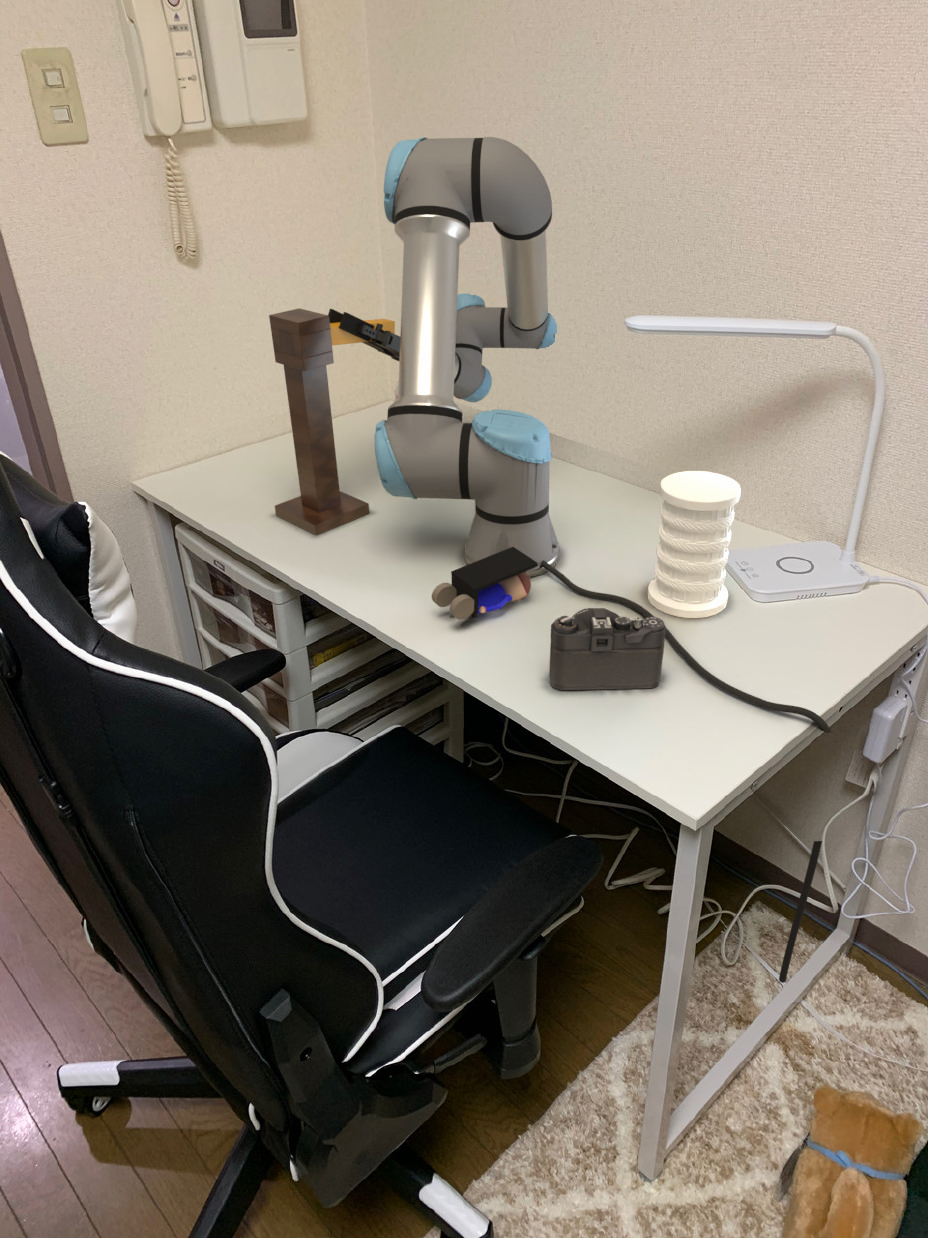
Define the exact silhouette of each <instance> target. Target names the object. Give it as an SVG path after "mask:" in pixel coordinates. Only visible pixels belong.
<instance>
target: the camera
mask: <svg viewBox="0 0 928 1238" xmlns="http://www.w3.org/2000/svg"><path fill="white" fill-rule="evenodd" d="M666 628H667V626H666V624H665V622H664V620H663V619H661V618H659V617H656V616H654V617H647V618H645V617H644V618H642V617H638V616H636V617H634V619H630V618H629V617H627V616H622V615H621V616H620V615H619V614H617V612H614V611H612V610H609V609H608V608H605V607H588V608H583V609H581V610H578V611H577V612H575V613H574V614H573V615H572V617H571V616H568V615H561V616H560V617H557V618H556V619H555V620H554V621H553V622H552V623H551V625H550V647H549V648H550V649H549V651H550V652H549V671H548V672H549V673H548V677H549V678H548V679H549V684H550V686H551V687H553V689H556V690H561V691H581V690H582V691H585V690H587V691H588V690H589V691H590V690H592V691H595V690H626V689H627V690H634V689H640V690H641V689H653V688H656V687H658V685H660V681H661V676H662V668H663V659H664V650H665V640H666V637H665V631H666Z"/></svg>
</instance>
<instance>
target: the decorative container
mask: <svg viewBox="0 0 928 1238" xmlns="http://www.w3.org/2000/svg"><path fill="white" fill-rule="evenodd" d="M741 493H742V489H741V485H740V483H739V482H737V481H736V480H735V479H733V478H732V477H729V476H728V475H725V474H721V473H718V472H712V471H705V470H686V471H685V470H684V471H679V472H674V473H671V474H669V475H666V476H664V477H663V478H662V479H661V481H660V484H659V495H660V497H661V498H662V500H663V502H662V504H661V507H660V510H659V511H660V518H661V523H660V524H659V527H658V531H657V532H658V538H659V543H658V545H657V547H656V558H657V559H658V560H657V562H656V564H655V567H654V575H655V577H654V579H651V581H650V582H649V584H648V586H647V599H648V602H649V603H650V604H651V605H652V606H653V607H654V608H656V610H657V611H658V610H659V611H660V612H662V613H665V614H667V615H669V616H670V615H671V616H673V617H679V618H683V619H702V618H703V619H704V618H708V617H713V616H716V615H717V614H720V613H721V612H722V611H724V610H725V608H726V607H727V603H728V600H729V592H728V589H727V588H726V586H725V585H724V583H725V580H726V578H727V576H726V575H727V573H726V572H727V571H726V565H727V563H728V561H729V555H730V554H729V549H728V546H729V545H730V544H731V543H730V542H731V540H732V535H733V534H732V529H731V527H732V526H731V525H732V524H733V522H734V519H735V517H736V516H735V509H734V507H735V505H736V504H738V503H739V501H740V498H741Z"/></svg>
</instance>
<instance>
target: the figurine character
mask: <svg viewBox="0 0 928 1238" xmlns="http://www.w3.org/2000/svg"><path fill="white" fill-rule="evenodd" d="M537 566H538V563H537V562H536V561H534V560H533V559H531V558H530V557H528V556H527V555H525V554H524V553H522V552H521V551H519V550H518V549H516V548H515V547H511V548H508V549H506V550H503V551H501V552H498V553H496V554H493V555H491V556H488V557H486V558H483V559H481V560H478V561H476V562H473V563H471V564H466V565H464V566H461V567H459V568H456V569H454V570H452V571H451V572H450V574H451V583H449V582H441V583H440V584H438V585H436V587H435V588H434V589H433V591H432V593H431V601H432V602H433V603H435V605H437V606H438V607H439V608H447V607H449V613H450V614H449V618H456V619H457V620H463V621H462V622H461V623H460V626H465V625H468V624H469V623H471V622H474V621H475V620H477V619H479V617H480V614H486V613H488V612H494V611H498V610H502V609H503V607H504V606H505V605H506V604H507V603H509V602H520V601H522V600H524V599H525V598H527V597H528V595H530V591H531V588H532V581H531V579H530V577H528V575H527V574H526V573H525V571H528V570H530V569H533V568H535V567H537ZM470 616H471V617H470ZM465 619H466V620H465Z"/></svg>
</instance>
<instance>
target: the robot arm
mask: <svg viewBox="0 0 928 1238" xmlns="http://www.w3.org/2000/svg"><path fill="white" fill-rule="evenodd" d="M383 194H384V195H383V196H384V197H383V207H384V213H385V217H386V219H387V220H388V222H389V223H391V224H393V225H394V233H395V235H396V236H397V237H398V238H399V239H400V241H402V242H403V254H402V255H403V257H402V282H401V283H402V284H401V309H400V335H397V334H393V333H391V332H390V331H384V330H382V328H383V325H382V324H379V323H377V326H376V329H374V325H371V324H369V323H367V322H365V321H363V320H364V319H361V318H359V317H357V316H355V315H353V314H351V313H349V312H346V311H343V313H342V312H339V311H338V310H335V309H333V308H329V310H328V313H327V315H328V316H329V320H330V323H339V322H341V323H340V326H339V328H340V329H342V330H344V331H346V332H349V333H351V334H353V335H355V336H357V337H359V338H362V339H364V340H366V341H369V342H361V343H362V344H364V345H366V346H367V347H370V348H372V349H374V350H375V351H377V352H379V353H382V354H383V355H386V356H388V357H391V359H392V360H393V361H396V362H399V365H398V369H399V370H398V381H399V388H398V398H397V400H396V401H395V400H394V401H393V402H392V403H391V404H390V405H389V406H388V407H387V415H386V416H387V417H386V419H383V420H381V421H378V422H377V423H376V425H375V433H374V453H375V461H376V466H377V467H376V468H377V471H378V476H379V479H380V482H381V484H382V487H383V488H384V490H385V491H386V493H388V494H389V495H390V496H392V497H397V498H410V499H413V500H418V499H440V500H442V499H443V500H445V499H446V500H448V499H449V500H474V516H473V520H472V522H471V526H470V529H469V533H468V536H467V538H466V541H465V545H464V560H465V562H466V565H468V564H471V563H473V562H476V561H478V560H481V559H483V558H486V557H488V556H491V555H493V554H496V553H498V552H501V551H503V550H506V549H508V548H511V547H515V548H516V549H518V550H519V551H521V552H522V553H524V554H525V555H527V556H528V557H530V558H531V559H533V560H534V561H536V562H537V563H538V566H537V567H535V568H533V569H530V570H528V571H525V573H526V574H527V575H528V577H529V578H532V577H533V578H534V577H537V576H539V575H542V574H545V573H547V572H549V573H551V575H553V576H554V577H556V578H557V579H558V580H559V581H561V582H562V583H563V584H564V586H566V587H567V588H569V589H570V590H571V591H573V592H574V593H577V594H578V595H581V596H585V597H587V598H593V599H598V600H606V601H611V602H616V603H618V604H619V603H620V604H622V605H624V606H627V607H629V608H631V609H632V610H634V611H635V612H637V613H639V614H641V616H642V617H644V619H645V618H647V617H655V615H653V614H652V613H651V612H650V611H648V610H647V609H646V608H644V607H643V606H642V605H640V604H638V603H636V602H635V601H632V600H630V599H628V598H627V597H623V596H620V595H617V594H610V593H604V592H597V591H593V590H592V591H591V590H588V589H585V588H582V587H580V586H578V585H576V584H575V583H574V582H572V580H570V579H569V578H568V577H567V576H566V575H564V574H563V573H562V572H561V571H559V570H558V569H556V568H555V566H556V565H557V564H558V563H559V560H560V546H559V541H558V538H557V535H556V532H555V528H554V526H553V522H552V519H551V516H550V461H551V460H552V456H553V455H552V451H551V434H550V431H549V429H548V426H547V425H546V424H545V423H544V422H543V421H542V420H540V419H539V418H536V417H535V416H533V415H530V414H527V413H524V412H520V411H517V410H510V409H492V410H484V411H480V412H478V413H477V414H476V415H475V416H474V417H473V419H472V421H471V422H463V413H464V412H463V410H462V409H461V408H460V407H459V406H458V405H457V403H456V402H455V400H454V397H455V398H456V399H459V400H461V401H462V400H463V401H466V402H468V403H478V402H480V401H482V400H484V399H485V398H486V397H487V395H488V394H489V392H490V390H491V388H492V383H493V377H492V375H491V372H490V370H489V369H488V368H487V367H486V366H485V365H483V349H531V350H532V349H535V350H540V349H547V348H546V347H549V346H550V345H552V344H553V343H554V342H555V334H556V333H557V324H556V322H555V319H554V318H553V316H552V315H551V314H550V313H548V307H549V296H548V295H549V294H548V293H549V291H548V289H549V288H548V262H547V261H548V256H547V255H548V254H547V230H548V228H549V227H550V225H551V223H552V219H553V199H552V195H551V191H550V188H549V186H548V183H547V180H546V178H545V176H544V174H543V173H542V171H541V170H540V168H539V166H538V165H537V164H536V162H535V161H534V160H533V159H532V158H531V157H530V156H529V154H527V153H526V152H525V151H523V150H522V148H520V146H518V145H516V144H515V143H512V142H511V141H508V140H506V139H503V138H500V137H494V136H483V137H448V138H447V137H446V138H445V137H444V138H441V137H440V138H428V137H426V136H423V137H419V138H417V139H416V138H415V139H414V138H413V139H402V140H400V141H398V142H397V143H396V144H395V145H394V147H392V149H391V151H390V153H389V155H388V158H387V162H386V166H385V172H384V180H383ZM471 223H475V224H476V223H492V225H493V227H494V229H495V231H496V232H497V234H499V238H500V246H501V257H502V267H503V276H504V286H505V288H504V289H505V296H506V297H505V298H506V304H507V305H506V307H501V306H499V307H498V306H497V307H495V306H494V307H490V306H489V307H488V306H487V307H486V301H485V300H484V299H483V297H481V296H480V295H477V294H470V293H458V292H459V291H458V290H459V269H460V266H459V265H460V246H461V245H462V244H463V243H464V242H465V241H466V240H467V239H469V237H470V235H471ZM371 338H372V341H370V339H371ZM665 640H667V641H668V643H669V644H670V645H671V646H672V647H673V649H674V650H675V651H676V652H677V653H678V654H679V655H680V656H681V657H682V658H683V660H685V662H686V663H687V664H688V665H689V666H690V667H691V668H692V669H693V670H694V671H695V672H696V673H698V674H699V675H700V676H701V677H702V678H704V679H705V680H706V681H708V682H709V683H711V684H712V685H714V686H716V688H719V689H720V690H722V691H724V692H726V693H728V694H729V695H731V696H734V697H735V698H738V699H741V700H743V701H746V702H748V703H750V704H752V705H755V706H757V707H760V708H762V709H766V710H769V711H773V712H774V711H775V712H780V713H787V714H795V715H799V716H802V717H805V718H807V719H809V720H811V721H812V722H814V723H815V724H816V725H817V726H818V727H819V729H820V730H821V731H822V732H824V733H826V734H830V733H831V732H832V730H831V728H830V726H829V725H828V723H827V722H826V721H825V719H823V718H822V717H821V716H820V715H819V714H818V713H816V712H815V711H812V710H810V709H808V708H805V707H802V706H801V707H800V706H797V705H796V706H795V705H790V704H782V703H777V702H772V701H767V700H765V699H762V698H759V697H757V696H755V695H752V694H750V693H747V692H745V691H743V690H741V689H738V688H736V687H734V686H732V685H730V684H728V683H726V682H724V681H723V680H721V679H720V678H718V677H716V675H713V674H712V673H711V672H709V671H708V670H707V669H706V668H704V667H703V666H702V665H701V664H700V663H699V662H698V661H697V660H696V659H695V658H694V657H693V656H692V655H691V654H690V653H689V652H688V651H687V650H686V649H685V648H684V647H683V646H682V645H681V643H680V642H679V641H678V640H677V638H676V637H675V635H673V634H672V633H671V631H670V630H669V629H668V628H667V627H666V631H665ZM822 844H823V841H822V840H813V844H812V848H811V852H810V857H809V861H808V864H807V868H806V873H805V877H804V880H803V884H802V888H801V891H800V895H799V899H798V901H797V905H796V908H795V909H796V910H795V913H794V917H793V920H792V924H791V927H790V932H789V935H788V940H787V943H786V945H785V951H784V953H783V954H784V955H783V959H782V963H781V967H780V971H779V977H778V981H779V982H780V983H782V984H784V983H786V981H787V977H788V973H789V969H790V964H791V960H792V957H793V952H794V948H795V945H796V941H797V936H798V934H799V929H800V926H801V923H802V919H803V915H804V912H805V908H806V904H807V901H808V898H809V894H810V890H811V887H812V883H813V880H814V876H815V872H816V868H817V864H818V860H819V857H820V852H821V848H822Z"/></svg>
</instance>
